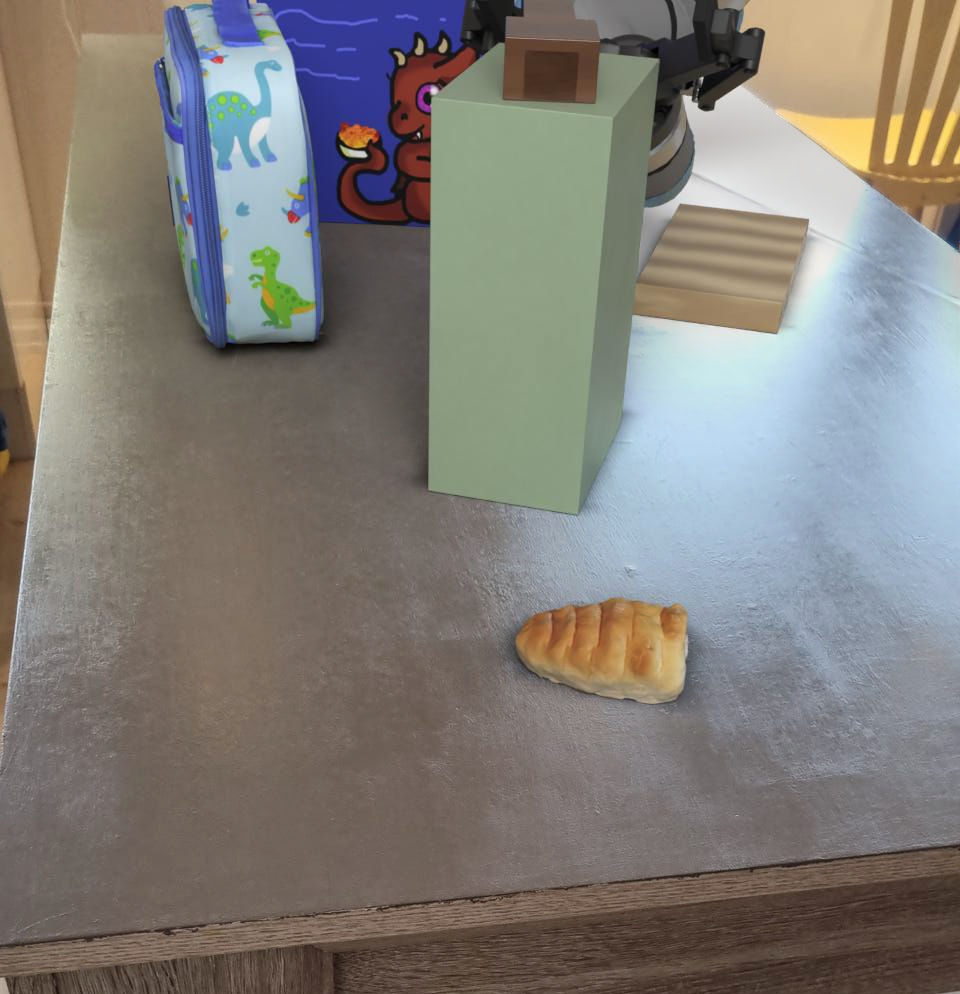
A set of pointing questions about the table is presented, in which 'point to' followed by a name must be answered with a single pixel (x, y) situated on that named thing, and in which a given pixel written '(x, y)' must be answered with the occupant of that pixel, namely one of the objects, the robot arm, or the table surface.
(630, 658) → the pastry
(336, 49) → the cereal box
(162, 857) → the table surface
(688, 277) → the maple board
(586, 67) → the walnut mallet
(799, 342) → the table surface
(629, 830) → the table surface
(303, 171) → the lunch box
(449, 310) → the plinth
